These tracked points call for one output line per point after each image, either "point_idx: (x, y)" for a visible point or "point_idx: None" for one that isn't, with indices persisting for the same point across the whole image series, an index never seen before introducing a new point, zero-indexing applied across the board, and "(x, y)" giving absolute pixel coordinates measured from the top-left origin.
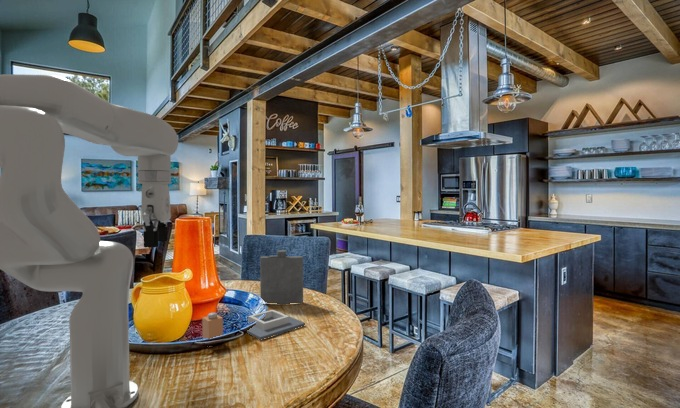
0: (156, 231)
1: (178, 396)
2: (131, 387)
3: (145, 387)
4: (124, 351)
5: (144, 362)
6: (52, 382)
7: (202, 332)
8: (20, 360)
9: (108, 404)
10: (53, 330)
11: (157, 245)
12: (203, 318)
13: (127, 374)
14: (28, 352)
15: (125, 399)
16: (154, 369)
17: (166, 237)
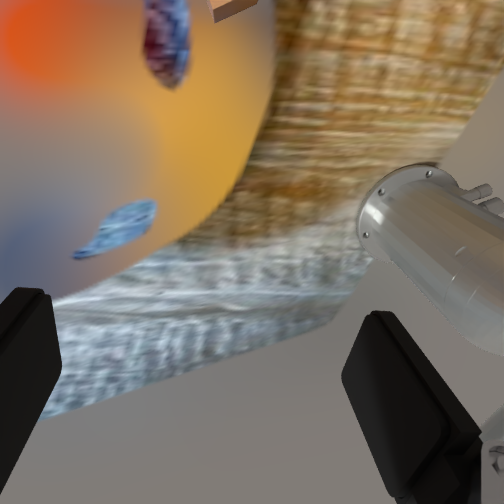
0: (473, 435)
1: (469, 90)
2: (409, 179)
3: (395, 155)
4: (493, 213)
5: (282, 170)
6: (295, 295)
7: (214, 18)
8: (188, 358)
9: (493, 203)
10: None
11: (394, 317)
12: (222, 5)
13: (449, 192)
14: (155, 360)
15: (445, 181)
16: (327, 146)
17: (31, 313)
